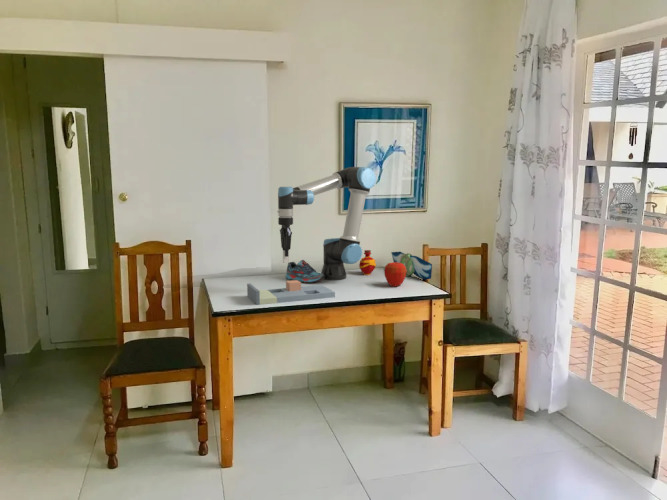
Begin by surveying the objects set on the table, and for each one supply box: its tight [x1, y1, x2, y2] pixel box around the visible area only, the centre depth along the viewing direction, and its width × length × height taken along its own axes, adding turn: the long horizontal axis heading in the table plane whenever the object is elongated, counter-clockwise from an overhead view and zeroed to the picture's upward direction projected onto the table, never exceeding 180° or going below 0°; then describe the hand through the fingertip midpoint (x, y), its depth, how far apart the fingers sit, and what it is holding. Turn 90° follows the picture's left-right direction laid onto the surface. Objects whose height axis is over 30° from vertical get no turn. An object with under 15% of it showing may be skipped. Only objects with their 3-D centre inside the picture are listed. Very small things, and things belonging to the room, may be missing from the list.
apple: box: [383, 261, 407, 288], centre depth 290 cm, size 12×12×14 cm
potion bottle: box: [358, 249, 377, 276], centre depth 319 cm, size 10×10×15 cm
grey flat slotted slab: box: [246, 282, 336, 306], centre depth 266 cm, size 40×18×6 cm, turn 113°
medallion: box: [390, 251, 433, 281], centre depth 316 cm, size 45×5×14 cm, turn 24°
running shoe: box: [285, 259, 325, 284], centre depth 302 cm, size 10×25×12 cm, turn 59°
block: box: [285, 280, 302, 291], centre depth 271 cm, size 6×6×4 cm
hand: (285, 262), depth 277 cm, fingers closed
